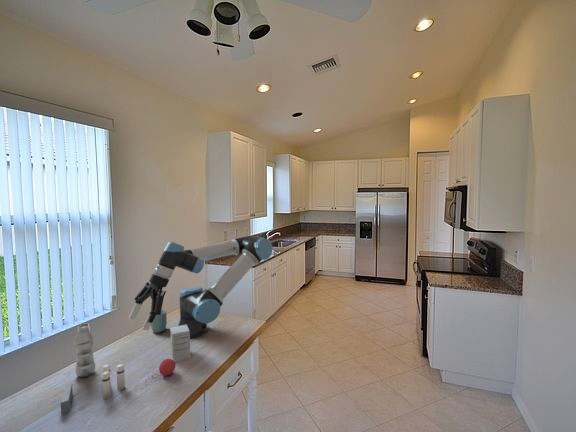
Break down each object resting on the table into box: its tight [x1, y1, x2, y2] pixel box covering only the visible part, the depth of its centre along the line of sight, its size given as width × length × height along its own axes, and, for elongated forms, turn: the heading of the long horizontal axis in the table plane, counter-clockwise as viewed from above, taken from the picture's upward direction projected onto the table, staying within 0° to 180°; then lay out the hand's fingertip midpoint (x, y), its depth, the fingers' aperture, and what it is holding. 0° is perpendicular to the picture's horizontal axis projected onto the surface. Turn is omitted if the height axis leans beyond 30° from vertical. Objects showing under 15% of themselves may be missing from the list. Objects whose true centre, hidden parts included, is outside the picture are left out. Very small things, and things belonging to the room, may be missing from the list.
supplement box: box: [170, 325, 191, 363], centre depth 128 cm, size 7×7×13 cm
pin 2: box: [101, 371, 112, 400], centre depth 102 cm, size 2×2×8 cm
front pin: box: [116, 363, 126, 391], centre depth 106 cm, size 2×2×8 cm
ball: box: [158, 358, 176, 376], centre depth 115 cm, size 6×6×6 cm
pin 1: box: [101, 363, 112, 389], centre depth 106 cm, size 2×2×8 cm
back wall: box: [60, 383, 74, 415], centre depth 98 cm, size 2×10×4 cm, turn 31°
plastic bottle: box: [73, 323, 97, 378], centre depth 115 cm, size 6×7×20 cm
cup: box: [150, 309, 168, 334], centre depth 152 cm, size 8×8×10 cm
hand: (138, 324), depth 122 cm, fingers open, 13 cm apart
